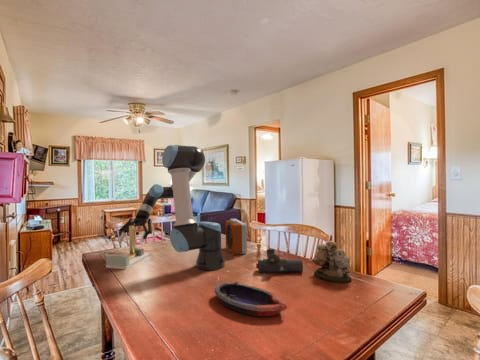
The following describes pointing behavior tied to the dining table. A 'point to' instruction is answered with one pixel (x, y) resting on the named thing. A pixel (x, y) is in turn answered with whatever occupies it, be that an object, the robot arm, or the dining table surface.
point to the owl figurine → (332, 263)
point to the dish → (249, 299)
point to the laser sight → (278, 264)
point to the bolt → (132, 242)
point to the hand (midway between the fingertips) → (129, 243)
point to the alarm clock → (236, 236)
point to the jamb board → (131, 262)
